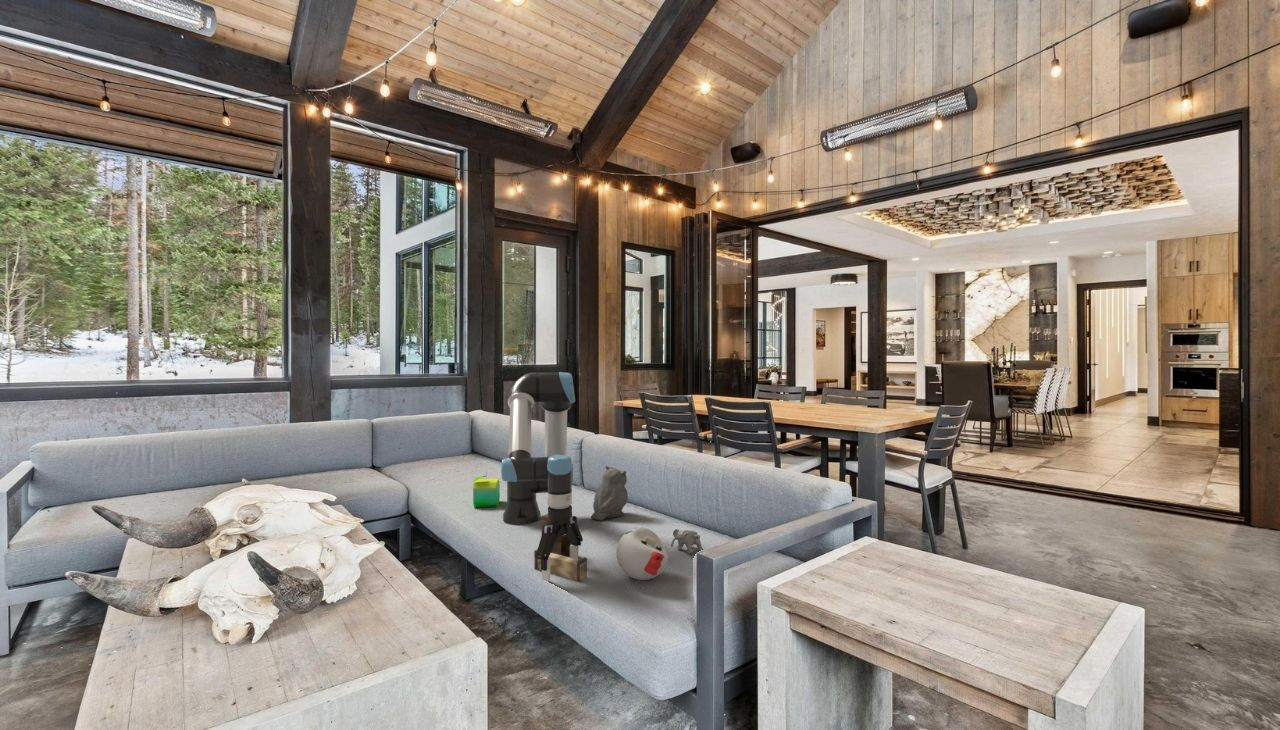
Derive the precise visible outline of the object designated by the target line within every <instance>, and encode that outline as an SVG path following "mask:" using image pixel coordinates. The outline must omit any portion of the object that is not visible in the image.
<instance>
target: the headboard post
mask: <svg viewBox="0 0 1280 730" xmlns="http://www.w3.org/2000/svg"><path fill="white" fill-rule="evenodd" d="M540 520H541V521H540V522H541V530H542V529H543V526H544V525H545V526H549V525H550V520H549V518H548V513H545V514H543V515H541V518H540ZM552 535H553V534H552ZM570 545H573V544H572V543H571V542H570V541H569V539H568V538H567V536H566V535H562V536H560V537H559V538H558V539H557V540H556V542H555V544H554V546H553V549H552V551H551V553H554V554H558V555H562V554H566V555H569V556H570Z"/></svg>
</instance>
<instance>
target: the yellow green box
mask: <svg viewBox="0 0 1280 730" xmlns="http://www.w3.org/2000/svg"><path fill="white" fill-rule="evenodd" d="M487 473H488V472H487V470H486V472H485V475H481V476H477V477H474V479H473V486H472V488H473V489H472V492H473V493H472V499H473V500H472V501H473V508H488V507H489V508H490V507H491V508H493V507H494V508H495V507H498V505H499V503H500V497H501V496H500V492H501V491H500V489H501V487H500V486H501V485H500V482H501V481H500V478H488V477H487Z"/></svg>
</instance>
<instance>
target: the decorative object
mask: <svg viewBox="0 0 1280 730" xmlns="http://www.w3.org/2000/svg"><path fill="white" fill-rule="evenodd" d="M662 542H663V541H662V540H661V538H659V536H658V535H657V534H656V533H655V532H654V531H653V530H652V529H650V528H647V527H644V526H643V527H642V526H637V527H634V528H631V529H629V530H627V531H626V532H625V533H624V534H623V535H622V536H621V537H620V539H619V541H618V543H617V547H616V553H615V554H616V560H617V563H618V565H619V567H620V568H621V570H622V571H623V572H624V573H625V574H626V575H627V576H629V577H631V578H632V579H635V580H639V581H649V580H652V579H655V578H656V577H658V576H660V574H662V572H663V571H664V570H665V569H666V567H667V564H668V561H669V555H668V553H667V551H666V548H665V546H664V544H663V543H662Z"/></svg>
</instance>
